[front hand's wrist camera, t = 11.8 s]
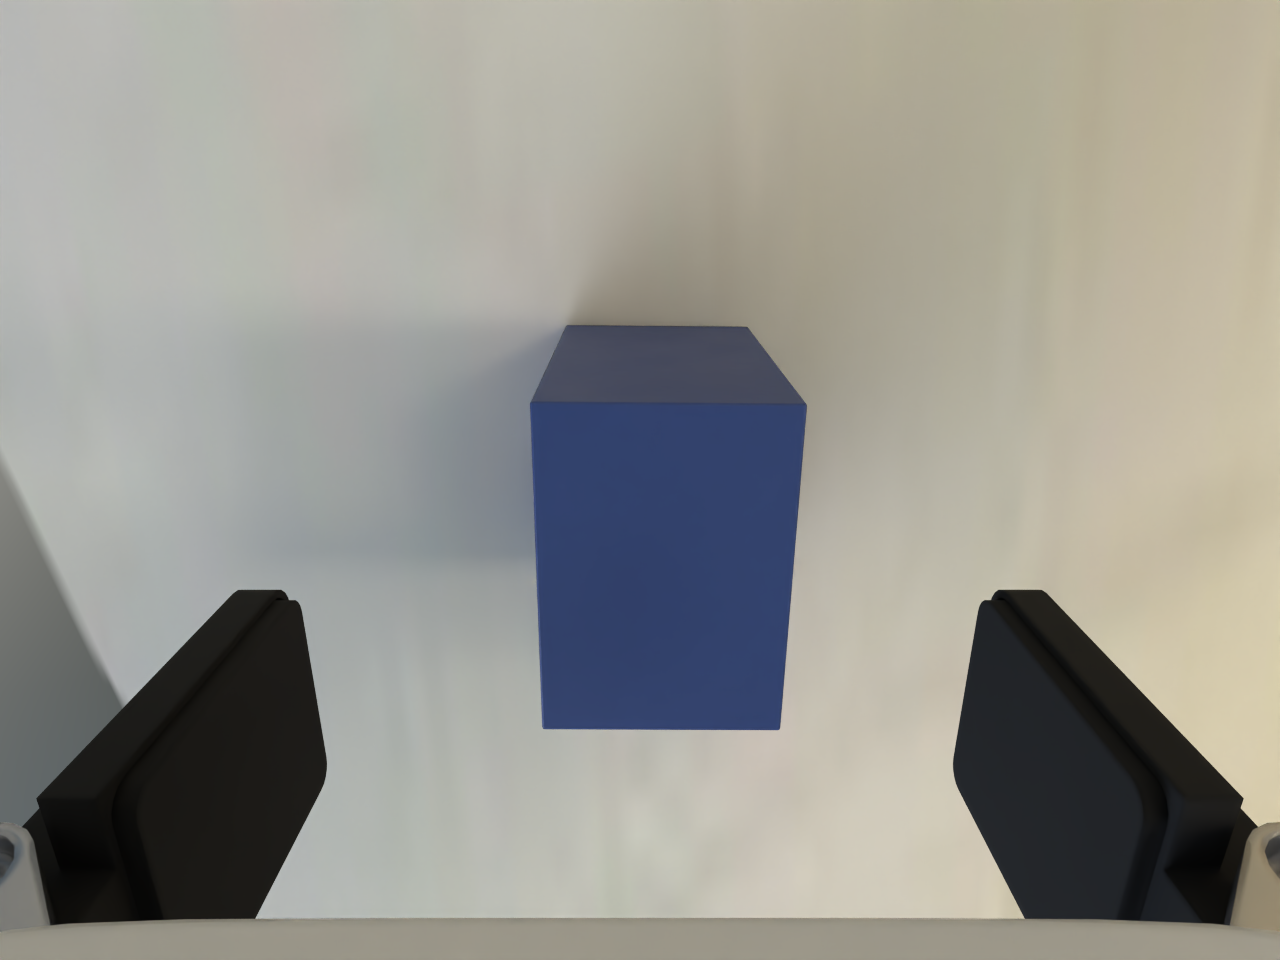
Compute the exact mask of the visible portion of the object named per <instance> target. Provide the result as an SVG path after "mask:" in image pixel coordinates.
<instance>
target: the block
mask: <svg viewBox="0 0 1280 960" xmlns="http://www.w3.org/2000/svg"><path fill="white" fill-rule="evenodd" d="M806 411H807V405H806V403H805V402H804V401H803V399H802V398H801V397H800V395H799V394H798V393H797V391H796V390H795V389H794V388H793V386H792V385H791V384H790V382H789V381H788V380H787V378H786V377H785V376H784V374H783V373H782V372H781V370H780V369H779V368H778V367H777V365H776V364H775V363H774V361H773V360H772V359H771V357H770V356H769V355H768V353H767V352H766V351H765V350H764V348H763V347H762V346H761V344H760V343H759V342H758V340H757V339H756V338H755V336H754V335H753V334H752V332H751V331H750V330H749V329H748V327H699V326H586V325H567V326H566V328H565V330H564V332H563V334H562V336H561V338H560V340H559V343H558V345H557V347H556V349H555V351H554V353H553V356H552V358H551V360H550V362H549V364H548V366H547V368H546V371H545V373H544V375H543V377H542V379H541V381H540V383H539V386H538V388H537V390H536V392H535V394H534V396H533V399H532V401H531V403H530V414H531V440H532V467H533V493H534V520H535V546H536V573H537V599H538V626H539V652H540V678H541V705H542V727H543V729H645V730H779V729H780V723H781V711H782V699H783V687H784V675H785V663H786V651H787V639H788V627H789V615H790V603H791V591H792V579H793V567H794V555H795V543H796V531H797V519H798V507H799V495H800V483H801V471H802V459H803V447H804V435H805V423H806Z"/></svg>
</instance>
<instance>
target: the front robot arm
mask: <svg viewBox="0 0 1280 960" xmlns="http://www.w3.org/2000/svg"><path fill="white" fill-rule="evenodd" d="M326 771H327V759H326V752H325V746H324V740H323V734H322V729H321V723H320V717H319V711H318V705H317V699H316V693H315V687H314V681H313V675H312V669H311V663H310V657H309V651H308V645H307V639H306V633H305V627H304V621H303V615H302V610H301V607H300V605H299V603H298V602H297V601H296V600H289V599H288V597H287V595H286V593H285V592H284V591H282V590H238V591H236V592H235V593H233V594H232V595H231V596H230V597H229V598H228V599H227V600H226V602H225V603H224V604H223V605H222V606H221V607H220V608H219V609H218V610H217V611H216V612H215V613H214V614H213V615H212V616H211V617H210V618H209V619H208V620H207V621H206V622H205V623H204V624H203V625H202V627H201V628H200V629H199V630H198V631H197V632H196V633H195V634H194V635H193V636H192V637H191V638H190V639H189V640H188V641H187V642H186V643H185V644H184V645H183V646H182V647H181V648H180V649H179V650H178V652H177V653H176V654H175V655H174V656H173V657H172V658H171V659H170V660H169V661H168V662H167V663H166V664H165V665H164V666H163V667H162V668H161V669H160V670H159V671H158V672H157V673H156V674H155V675H154V677H153V678H152V679H151V680H150V681H149V682H148V683H147V684H146V685H145V686H144V687H143V688H142V689H141V690H140V691H139V692H138V693H137V694H136V695H135V696H134V697H133V698H132V699H131V700H130V702H129V703H128V704H127V705H126V706H125V707H124V708H123V709H122V710H121V711H120V712H119V713H118V714H117V715H116V716H115V717H114V718H113V719H112V720H111V721H110V722H109V723H108V724H107V726H106V727H105V728H104V729H103V730H102V731H101V732H100V733H99V734H98V735H97V736H96V737H95V738H94V739H93V740H92V741H91V742H90V743H89V744H88V745H87V746H86V747H85V748H84V749H83V750H82V752H81V753H80V754H79V755H78V756H77V757H76V758H75V759H74V760H73V761H72V762H71V763H70V764H69V765H68V766H67V767H66V768H65V769H64V770H63V771H62V772H61V773H60V774H59V776H58V777H57V778H56V779H55V780H54V781H53V782H52V783H51V784H50V785H49V786H48V787H47V788H46V789H45V790H44V791H43V792H42V793H41V794H40V795H39V796H38V797H37V802H38V805H39V809H38V810H37V812H36V813H35V814H34V815H33V816H32V817H31V818H30V819H29V820H28V821H27V822H26V823H25V824H24V825H23V826H22V827H20V826H18V825H16V824H14V823H4V822H0V960H1280V822H1276V823H1266V824H1264V825H1262V826H1260V827H1258V826H1257V825H1256V824H1255V823H1254V822H1253V821H1252V820H1251V819H1250V818H1249V817H1248V816H1247V815H1246V814H1245V813H1244V811H1243V810H1242V809H1241V805H1242V802H1243V799H1244V798H1243V797H1242V796H1241V795H1240V794H1239V793H1238V792H1237V791H1236V790H1235V789H1234V788H1233V787H1232V786H1231V785H1230V784H1229V783H1228V782H1227V781H1226V780H1225V779H1224V778H1223V777H1222V775H1221V774H1220V773H1219V772H1218V771H1217V770H1216V769H1215V768H1214V767H1213V766H1212V765H1211V764H1210V763H1209V762H1208V761H1207V760H1206V759H1205V758H1204V757H1203V756H1202V755H1201V754H1200V753H1199V752H1198V750H1197V749H1196V748H1195V747H1194V746H1193V745H1192V744H1191V743H1190V742H1189V741H1188V740H1187V739H1186V738H1185V737H1184V736H1183V735H1182V734H1181V733H1180V732H1179V731H1178V730H1177V729H1176V728H1175V727H1174V725H1173V724H1172V723H1171V722H1170V721H1169V720H1168V719H1167V718H1166V717H1165V716H1164V715H1163V714H1162V713H1161V712H1160V711H1159V710H1158V709H1157V708H1156V707H1155V706H1154V705H1153V704H1152V703H1151V702H1150V700H1149V699H1148V698H1147V697H1146V696H1145V695H1144V694H1143V693H1142V692H1141V691H1140V690H1139V689H1138V688H1137V687H1136V686H1135V685H1134V684H1133V683H1132V682H1131V681H1130V680H1129V679H1128V678H1127V677H1126V675H1125V674H1124V673H1123V672H1122V671H1121V670H1120V669H1119V668H1118V667H1117V666H1116V665H1115V664H1114V663H1113V662H1112V661H1111V660H1110V659H1109V658H1108V657H1107V656H1106V655H1105V654H1104V653H1103V652H1102V650H1101V649H1100V648H1099V647H1098V646H1097V645H1096V644H1095V643H1094V642H1093V641H1092V640H1091V639H1090V638H1089V637H1088V636H1087V635H1086V634H1085V633H1084V632H1083V631H1082V630H1081V629H1080V628H1079V627H1078V625H1077V624H1076V623H1075V622H1074V621H1073V620H1072V619H1071V618H1070V617H1069V616H1068V615H1067V614H1066V613H1065V612H1064V611H1063V610H1062V609H1061V608H1060V607H1059V606H1058V605H1057V604H1056V603H1055V602H1054V600H1053V599H1052V598H1051V597H1050V596H1049V595H1048V594H1047V593H1045V592H1044V591H1042V590H998V591H996V592H995V593H994V595H993V597H992V599H991V600H984V601H983V602H982V603H981V605H980V607H979V610H978V615H977V621H976V627H975V633H974V639H973V645H972V651H971V657H970V663H969V669H968V675H967V681H966V687H965V693H964V699H963V705H962V711H961V717H960V723H959V728H958V734H957V740H956V746H955V752H954V759H953V771H954V777H955V781H956V785H957V787H958V789H959V791H960V793H961V795H962V797H963V799H964V801H965V803H966V805H967V807H968V809H969V811H970V813H971V815H972V817H973V819H974V821H975V823H976V824H977V826H978V828H979V830H980V832H981V834H982V836H983V838H984V840H985V842H986V844H987V846H988V848H989V850H990V852H991V854H992V856H993V858H994V859H995V861H996V863H997V865H998V867H999V869H1000V871H1001V873H1002V875H1003V877H1004V879H1005V881H1006V883H1007V885H1008V887H1009V889H1010V891H1011V893H1012V895H1013V896H1014V898H1015V900H1016V902H1017V904H1018V906H1019V908H1020V910H1021V912H1022V914H1023V916H1024V918H1025V919H956V918H324V919H255V918H256V916H257V914H258V912H259V910H260V908H261V906H262V904H263V902H264V900H265V898H266V896H267V894H268V893H269V891H270V889H271V887H272V885H273V883H274V881H275V879H276V877H277V875H278V873H279V871H280V869H281V867H282V865H283V863H284V861H285V859H286V858H287V856H288V854H289V852H290V850H291V848H292V846H293V844H294V842H295V840H296V838H297V836H298V834H299V832H300V830H301V828H302V826H303V824H304V823H305V821H306V819H307V817H308V815H309V813H310V811H311V809H312V807H313V805H314V803H315V801H316V799H317V797H318V795H319V793H320V791H321V789H322V787H323V785H324V781H325V777H326Z"/></svg>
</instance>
